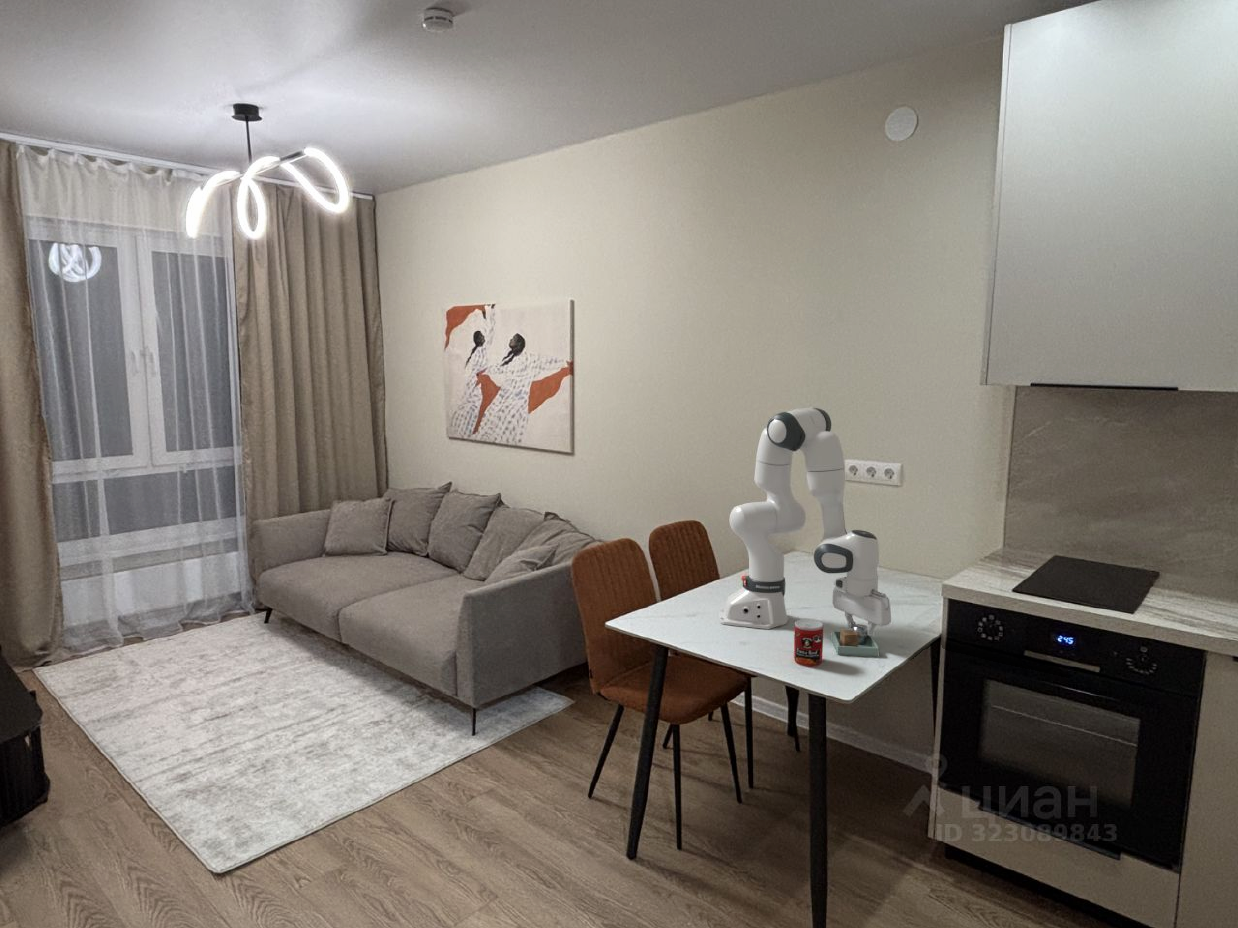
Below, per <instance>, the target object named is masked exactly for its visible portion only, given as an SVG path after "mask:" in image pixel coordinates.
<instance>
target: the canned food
mask: <svg viewBox="0 0 1238 928" xmlns="http://www.w3.org/2000/svg"><path fill="white" fill-rule="evenodd" d="M793 639H794V640H793V641H794V643H793V660H794V662H795V663H796V664H798V665H800V666H803V667H817V666H819V665H821V664H822V661H823V649H824V648H823V647H824V645H823V644H824V641H823V640H824V623H823V622H821V621H819V620H816V619H811V618H802V619H798V620H795V622H794V638H793Z"/></svg>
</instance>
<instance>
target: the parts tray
mask: <svg viewBox="0 0 1238 928" xmlns="http://www.w3.org/2000/svg"><path fill="white" fill-rule="evenodd" d="M830 639H831V641H832V643H833V646H834V649H835V652H836V655H837V656H850V657H851V656H852V657H853V656H854V657H870V658H871V657H872V658H873V657H874V658H878V657H879V654H880V653H879V651H880V650H879V646H878V645H877V644H878V643H876V641H875V638H874V637H873V635H872V636H868V635H867V644H866V645H858V647H853V646H840V630H831V638H830Z"/></svg>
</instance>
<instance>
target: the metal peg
mask: <svg viewBox="0 0 1238 928" xmlns="http://www.w3.org/2000/svg"><path fill="white" fill-rule="evenodd" d="M865 629H868V626H867V625H865V624H861V623H860V624H859V623H856V624H855V625H853V628H852V630H854V631H855V632H856V633H857V634H858V635H859V637H858V645H866V644H867V635H866V634H865Z"/></svg>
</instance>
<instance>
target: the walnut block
mask: <svg viewBox="0 0 1238 928" xmlns="http://www.w3.org/2000/svg"><path fill="white" fill-rule="evenodd" d="M839 631H840V646H853V647H858V637H859V635H858V634H857V633H856V632H855V631H854V630H853V629H841V630H839Z"/></svg>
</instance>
